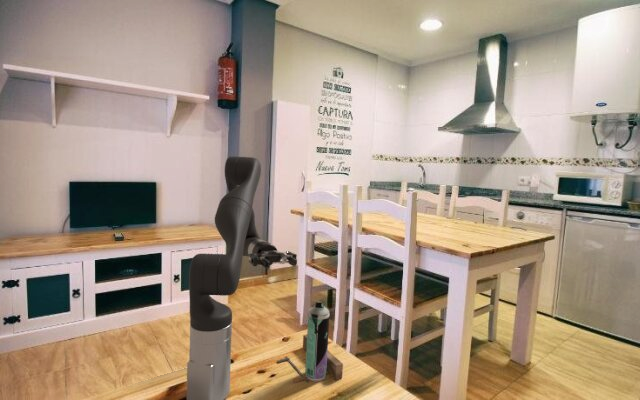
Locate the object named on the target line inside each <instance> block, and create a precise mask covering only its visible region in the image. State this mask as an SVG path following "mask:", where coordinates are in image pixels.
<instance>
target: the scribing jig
mask: <svg viewBox="0 0 640 400" xmlns="http://www.w3.org/2000/svg"><path fill="white" fill-rule="evenodd" d="M302 337H303V338H302V349H304V351H305V352H306V350H307V334H303V336H302ZM276 362H277V363H278V364H282V363H286V362H289V364H290V365H291V367H292V368H294V369H295V371H296V372H297V373H298V374H299V375H300V378H295V379H293V380H292V382H293V384H296V383H299V382H302V381H305V382H306V383H309V382H310V380H308V379H307V378H306V376H305V375H304V374H303V373H302V372H301V371H300V370H299V369H298V367H297V366H296V365H295V364H294V363H293V361H291V359H290V357H288V356H287V355H286V356H284V358H282V359H279V360H277V361H276ZM343 369H344V363H343V362H341V361H340V360H339V358H337V357H336V356H335V355H334V354H333V353H332V352H331V351H329V350H328V351H327V368H326V373H327V374H329V376H331V378H333V380H334V381H338V380H341V379H343V372H344V371H343Z"/></svg>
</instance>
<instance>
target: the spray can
mask: <svg viewBox="0 0 640 400" xmlns="http://www.w3.org/2000/svg"><path fill="white" fill-rule="evenodd" d="M330 314H331V313H330V310H329V308H327V307H326V306H325V305H324V302H323V300H318V301H316V302H315V304H314V305H313V307H310V308H309V309H308V315H307V316H308V317H307V332H306V333H307V350H306V351H305V353H306V354H305V371H304V373H305V375H304V376H305V377H306V378H307V380H308V381H311V382H321V381H324V380H325V379H326V377H327V371H326V368H327V351H329V349H328V347H329V330H330Z"/></svg>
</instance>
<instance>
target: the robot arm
mask: <svg viewBox="0 0 640 400" xmlns="http://www.w3.org/2000/svg"><path fill="white" fill-rule="evenodd" d="M261 173H262V166H261V161H259V159H258V158H256V157H250V156H228V157H227V158H226V159H225V164H224V179H225V184H226V188H227V191H228V192H227V193H226V194H224V196H222V198H221V199H220V201H219V204H218V207H217V210H216V212H215V215H214V224H215V228H216V230H217V232H218V233H219V235H220V236H221V238H222V240H223V241H224V242H225V245H226V246H227V249H228V253H226V254H222V253H221V254H220V253H196V254H195V255H194V256H193V257H192V259H191V261H190V264H189V265H190V266H189V270H188V291H189V293H188V294H189V316H190V317H189V318H190V319H189V321H190V322H189V324H190V325H189V326H190V327H189V356H188V357H189V359H188V360H189V361H188V362H187V365H186V367H187V368H186V400H225V399H226V398H227V397H228V396H229V395H230V389H231V388H230V387H231V361H232V360H231V359H232V358H231V356H232V332H233V331H232V330H233V329H232V327H233V311H232V309H231V307H230V306H228V305H227V304H224V303H221V302H219V301H218V300H216V299H214V298H213V297H212V296H221V297H222V296H223V297H224V296H225V297H226V296H231V295H234V294H235V292H236V291H237V289H238V287H239V283H240V278H241V273H242V264H243V257H248V263H249V264H250V265H251V266H252V267H257V266H258V265H259V267H264V268H265V269H267V270H269V269H270V267H271V266H272V265H273V264H278V265H279V264H280V265H284V264H289V265H290V266H293V267H296V266H297V264H298V259H297V254H296V253H294V252H291V251H290V250H286V251H283V252H282V251H279V250H278V249H277V247H276V246H275V245H274V244H272V243H271V242H269V241H266V240H265V239H261V237H260V235H259V233H258V231H257V227H256V219H255V218H256V217H255V215H256V214H255V212H254V207H253V205H254V198H255V196H256V191H257V189H258V185H259V182H260V179H261V175H262V174H261Z"/></svg>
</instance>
